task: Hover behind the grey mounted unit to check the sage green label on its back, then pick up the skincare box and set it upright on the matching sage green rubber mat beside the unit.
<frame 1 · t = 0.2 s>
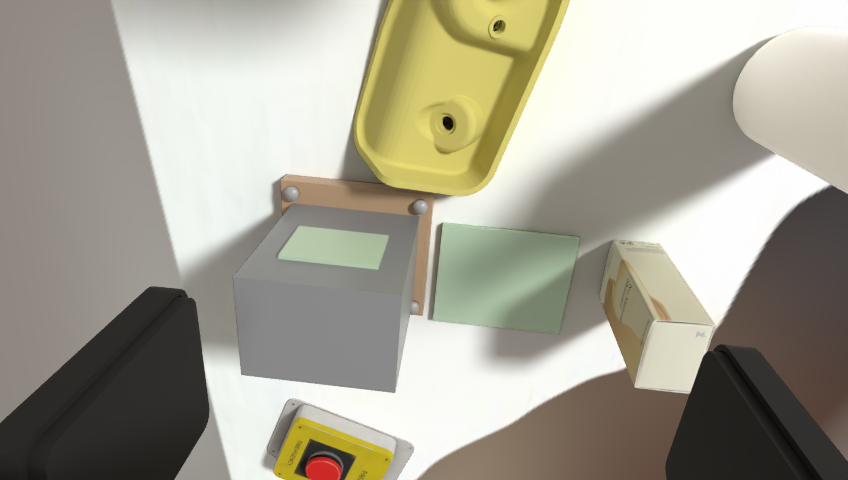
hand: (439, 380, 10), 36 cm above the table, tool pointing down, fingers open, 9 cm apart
emergency button: (341, 443, 61), on the table
skincare box: (627, 271, 49), on the table
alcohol: (788, 87, 41), on the table
plastic component: (461, 56, 42), on the table
mounted unit: (358, 243, 49), on the table
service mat: (502, 278, 50), on the table
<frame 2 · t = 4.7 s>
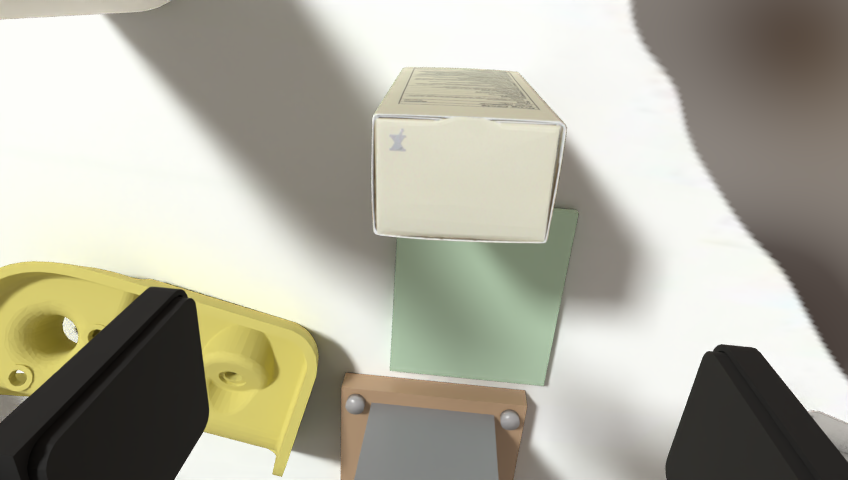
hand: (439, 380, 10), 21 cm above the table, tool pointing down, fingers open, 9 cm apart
skincare box: (461, 109, 29), on the table
plastic component: (179, 334, 36), on the table
mounted unit: (427, 453, 39), on the table
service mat: (476, 293, 33), on the table
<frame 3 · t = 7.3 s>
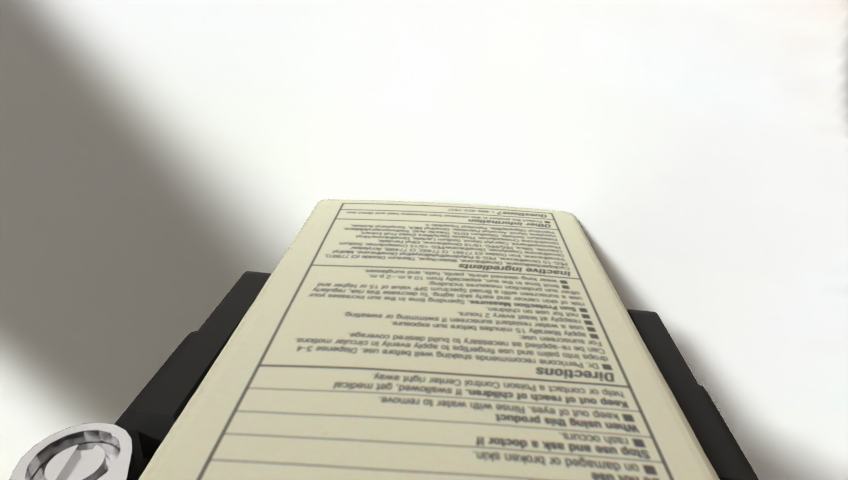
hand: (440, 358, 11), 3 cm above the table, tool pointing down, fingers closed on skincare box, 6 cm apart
skincare box: (448, 277, 14), on the table, touching gripper
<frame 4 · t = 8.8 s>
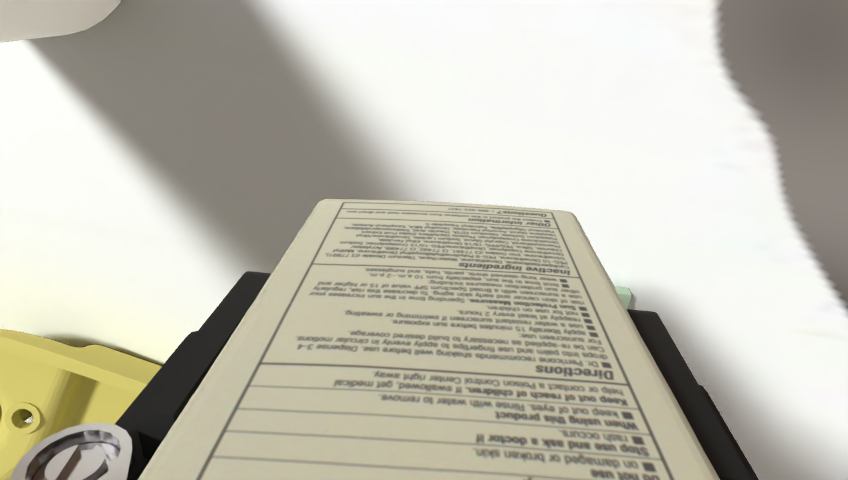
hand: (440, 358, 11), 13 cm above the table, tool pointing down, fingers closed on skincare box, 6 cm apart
skincare box: (448, 276, 14), point 9 cm above the table, touching gripper
plastic component: (134, 403, 30), on the table
when the fingers open (5 cm above the table, at t = 13.3 s): skincare box drops 1 cm, resting on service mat.
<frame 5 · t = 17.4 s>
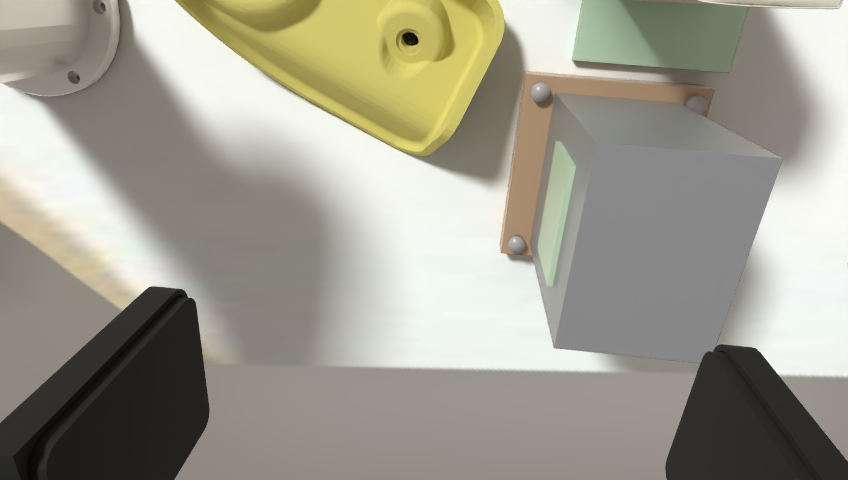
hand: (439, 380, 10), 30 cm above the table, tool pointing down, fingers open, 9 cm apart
plastic component: (348, 8, 36), on the table
mounted unit: (594, 171, 39), on the table
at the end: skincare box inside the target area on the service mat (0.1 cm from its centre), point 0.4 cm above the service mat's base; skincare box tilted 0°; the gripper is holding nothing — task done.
